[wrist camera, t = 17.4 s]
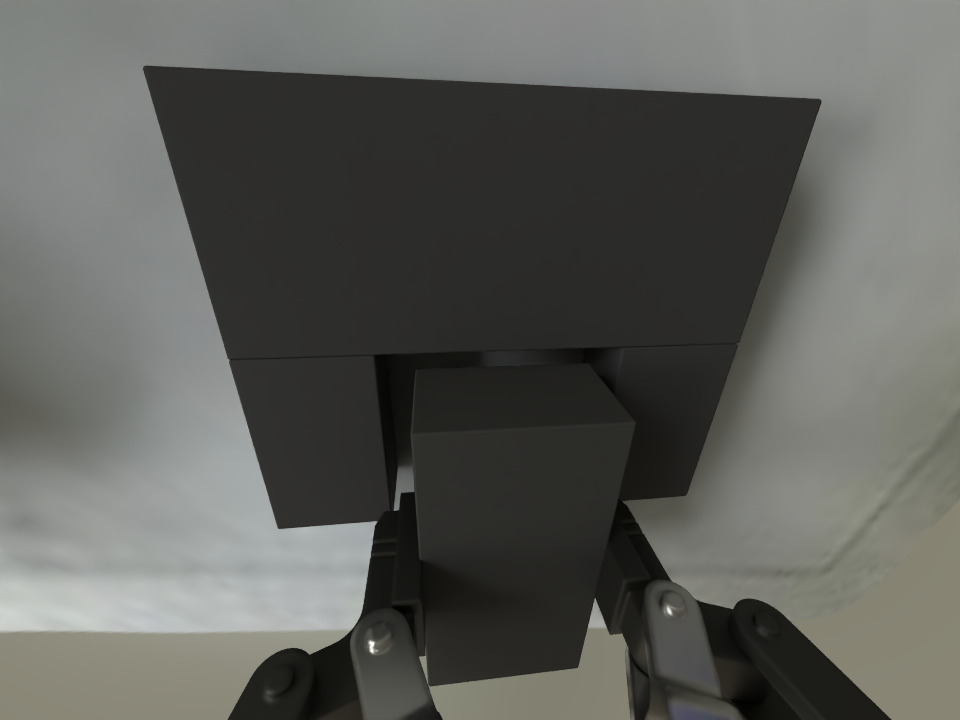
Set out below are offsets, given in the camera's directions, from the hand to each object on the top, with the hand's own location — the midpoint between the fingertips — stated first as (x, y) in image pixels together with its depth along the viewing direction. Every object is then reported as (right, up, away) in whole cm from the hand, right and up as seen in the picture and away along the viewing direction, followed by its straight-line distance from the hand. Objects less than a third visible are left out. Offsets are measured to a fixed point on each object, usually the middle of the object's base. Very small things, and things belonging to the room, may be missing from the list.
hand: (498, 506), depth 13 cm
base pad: (0, +6, 0) cm, 6 cm away
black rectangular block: (0, 0, 0) cm, 0 cm away
